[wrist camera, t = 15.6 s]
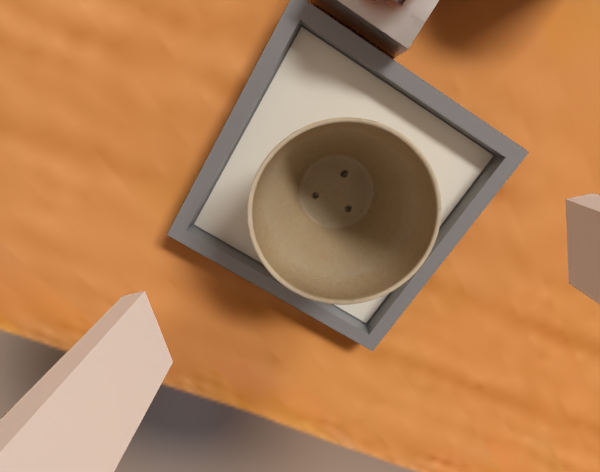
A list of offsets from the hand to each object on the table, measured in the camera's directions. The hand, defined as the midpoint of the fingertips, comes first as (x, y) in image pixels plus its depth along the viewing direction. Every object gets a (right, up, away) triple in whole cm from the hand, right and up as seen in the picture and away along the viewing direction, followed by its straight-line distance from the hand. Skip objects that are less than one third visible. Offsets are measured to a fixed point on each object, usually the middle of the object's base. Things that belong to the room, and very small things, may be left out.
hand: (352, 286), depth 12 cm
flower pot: (+1, +5, +15) cm, 16 cm away
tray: (+1, +5, +16) cm, 16 cm away
